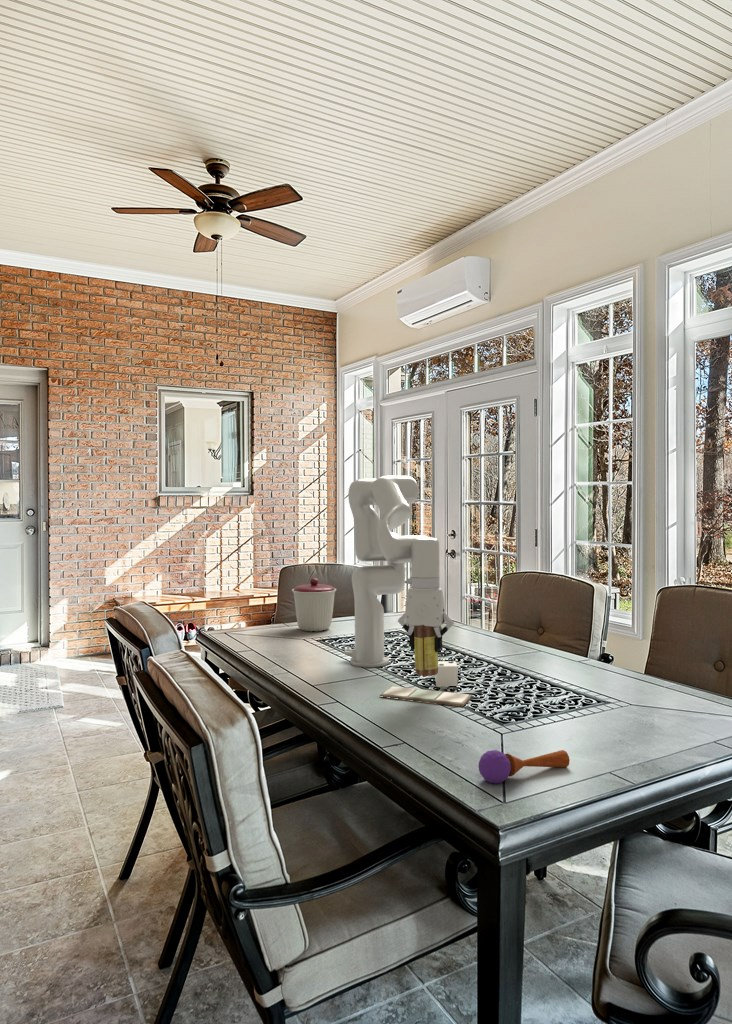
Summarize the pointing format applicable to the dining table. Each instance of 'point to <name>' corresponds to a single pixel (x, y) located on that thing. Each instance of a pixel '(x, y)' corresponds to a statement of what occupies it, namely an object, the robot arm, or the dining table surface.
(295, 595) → the canister
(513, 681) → the dining table surface
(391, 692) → the board
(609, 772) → the dining table surface
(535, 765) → the kendama
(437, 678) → the die
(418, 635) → the sauce bottle
